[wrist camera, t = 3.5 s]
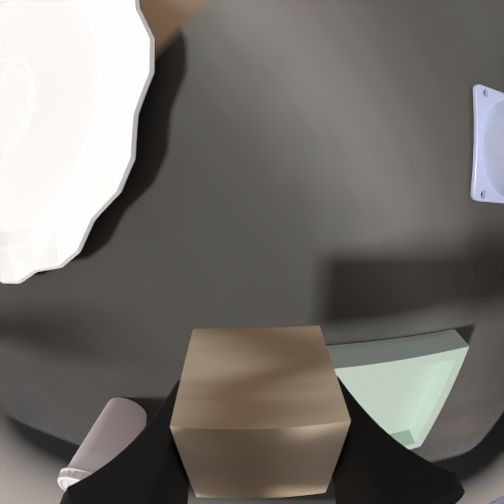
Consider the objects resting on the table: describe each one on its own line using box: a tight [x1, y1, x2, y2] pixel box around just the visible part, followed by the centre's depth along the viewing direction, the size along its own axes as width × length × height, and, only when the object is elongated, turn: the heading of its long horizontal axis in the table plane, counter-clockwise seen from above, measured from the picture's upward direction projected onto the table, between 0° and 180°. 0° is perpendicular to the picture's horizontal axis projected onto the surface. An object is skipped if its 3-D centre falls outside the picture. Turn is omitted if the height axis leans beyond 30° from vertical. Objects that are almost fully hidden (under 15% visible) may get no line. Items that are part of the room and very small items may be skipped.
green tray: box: [327, 329, 469, 449], centre depth 22 cm, size 13×13×2 cm
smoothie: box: [58, 397, 147, 491], centre depth 17 cm, size 6×6×14 cm
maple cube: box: [170, 325, 351, 498], centre depth 11 cm, size 5×5×5 cm
